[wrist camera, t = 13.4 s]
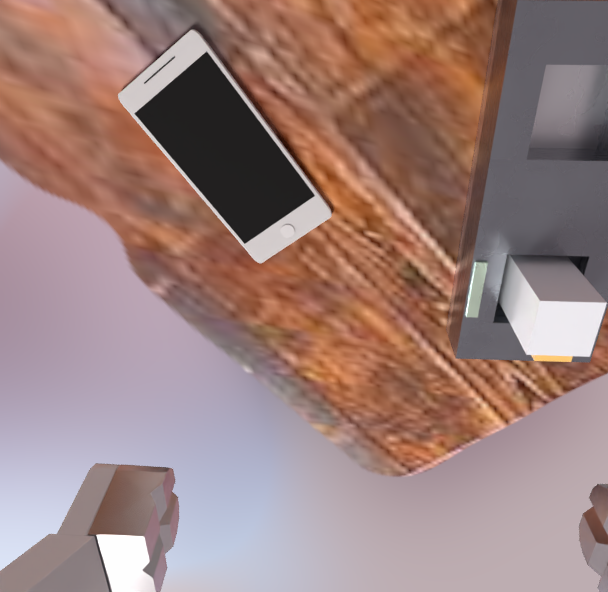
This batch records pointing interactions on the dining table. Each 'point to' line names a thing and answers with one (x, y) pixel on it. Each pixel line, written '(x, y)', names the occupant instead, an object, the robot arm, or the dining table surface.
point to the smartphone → (224, 147)
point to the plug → (550, 306)
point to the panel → (535, 164)
